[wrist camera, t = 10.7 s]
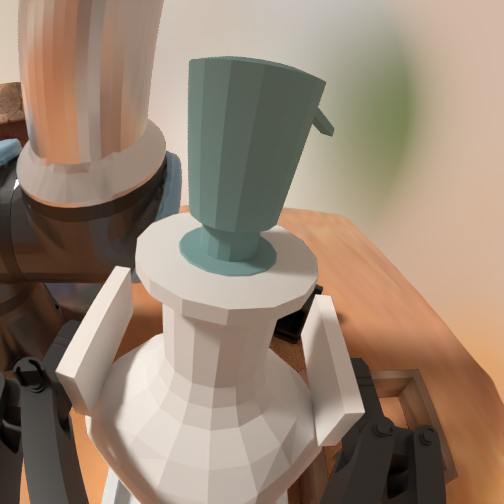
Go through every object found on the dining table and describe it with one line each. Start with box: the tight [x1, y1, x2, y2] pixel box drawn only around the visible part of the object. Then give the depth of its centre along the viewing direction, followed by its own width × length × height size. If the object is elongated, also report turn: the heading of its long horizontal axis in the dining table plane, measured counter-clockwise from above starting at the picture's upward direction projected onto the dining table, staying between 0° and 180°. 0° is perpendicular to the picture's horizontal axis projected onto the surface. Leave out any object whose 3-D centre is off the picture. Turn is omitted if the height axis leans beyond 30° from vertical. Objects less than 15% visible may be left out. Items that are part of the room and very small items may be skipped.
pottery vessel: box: [0, 82, 29, 148], centre depth 46 cm, size 26×26×30 cm
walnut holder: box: [299, 369, 458, 504], centre depth 25 cm, size 15×15×4 cm
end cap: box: [273, 284, 323, 344], centre depth 41 cm, size 10×7×7 cm
